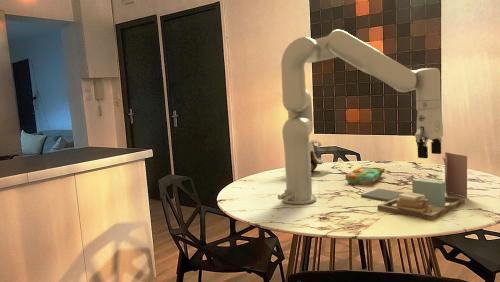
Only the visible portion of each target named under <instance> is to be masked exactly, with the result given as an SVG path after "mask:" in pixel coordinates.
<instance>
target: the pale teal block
mask: <svg viewBox="0 0 500 282" xmlns="http://www.w3.org/2000/svg"><path fill="white" fill-rule="evenodd" d="M411 182H412V185H411V187H412V191H411V192H412V193H416V194H421V195H425V199H428V205H430V206H432V207H433V206H434V207H439V208H443V207H445V206H446V201H445V196H446V193H445V181H439V180H431V179H426V178H424V179H423V178H418V177H417V178H415V179H412V181H411Z"/></svg>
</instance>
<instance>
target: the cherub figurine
mask: <svg viewBox="0 0 500 282" xmlns="http://www.w3.org/2000/svg"><path fill="white" fill-rule="evenodd" d="M309 143H310V158H311V178H322V177H325V176H327V175H329V174H332V173H333V172H332V171H323V170H316V169H317V167H318V165H322V164H323V163H324V160H323V159H322V158H321V157H317V156H316V154H315V150H316V149H319V148H320V147H321V146H322V143H321V141H319V140H317V139H312V140H309Z"/></svg>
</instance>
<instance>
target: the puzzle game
mask: <svg viewBox="0 0 500 282" xmlns="http://www.w3.org/2000/svg"><path fill="white" fill-rule="evenodd" d="M385 171H386V169H385V168H384V167H383V168H382V167H367V166H365V167H364V166H360V167H358V168H356V169H354V170H351V171H350V172H349V173H347V174H345V175H344V176H345V180H346V181H347V183H349V184H352V183H355V184H354V185H367V184H368V186H369V185H370V186H371V185H373V184H374V183H375V182H377V181H378V180H379V179H380V178H381V177H382V175H383V173H385Z"/></svg>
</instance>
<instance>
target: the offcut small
mask: <svg viewBox="0 0 500 282" xmlns="http://www.w3.org/2000/svg"><path fill="white" fill-rule="evenodd" d="M411 192H412V191H408V192H404V193H403V194H400V195H399V199H401V200H406V201H410V202H414V203H415V202H419V201H422V200H425V195H421V194H416V193H411Z"/></svg>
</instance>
